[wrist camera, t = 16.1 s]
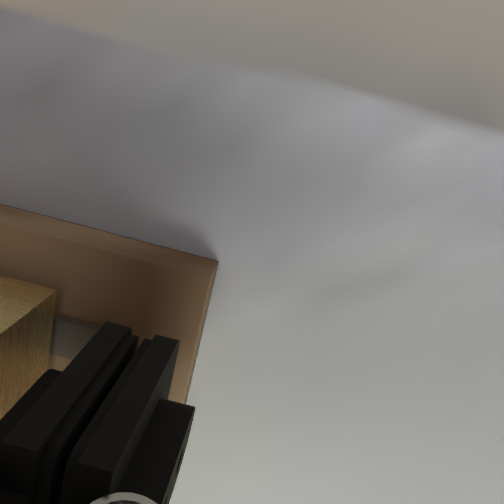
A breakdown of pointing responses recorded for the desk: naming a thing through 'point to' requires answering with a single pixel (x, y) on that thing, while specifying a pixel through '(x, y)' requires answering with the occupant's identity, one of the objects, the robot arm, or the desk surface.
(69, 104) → the desk surface
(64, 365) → the dock base
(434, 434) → the desk surface
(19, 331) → the slider knob
